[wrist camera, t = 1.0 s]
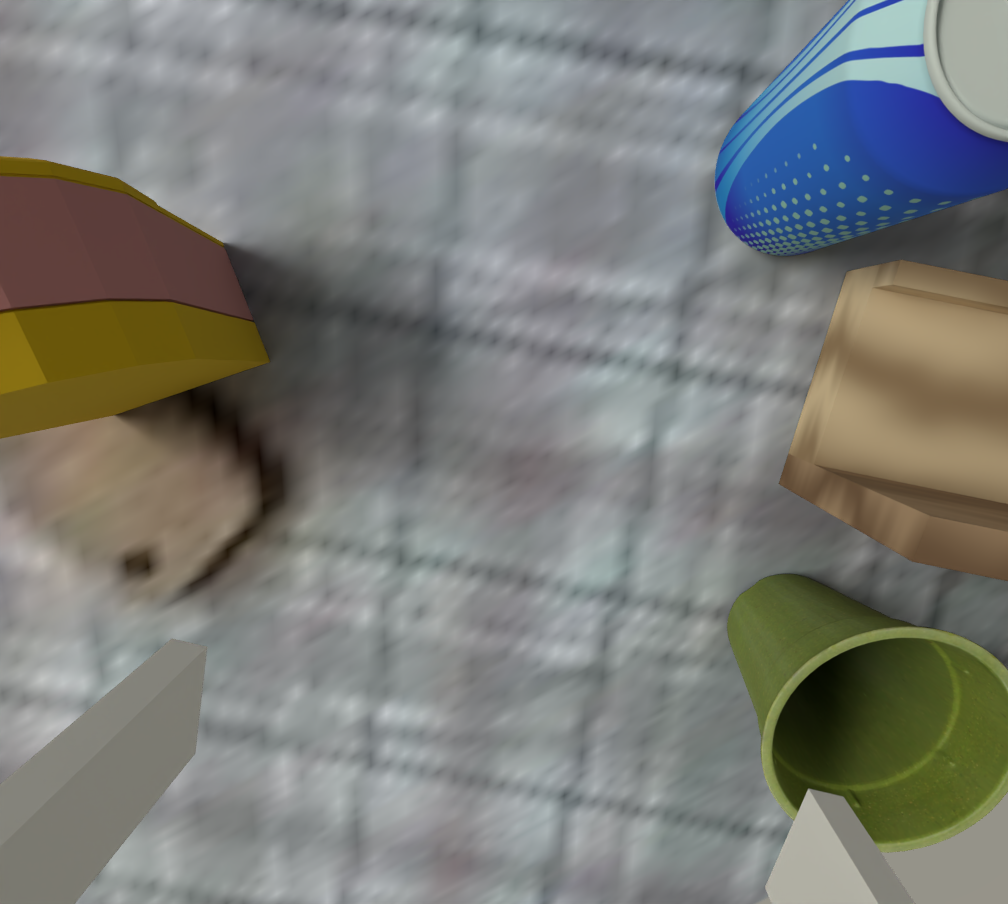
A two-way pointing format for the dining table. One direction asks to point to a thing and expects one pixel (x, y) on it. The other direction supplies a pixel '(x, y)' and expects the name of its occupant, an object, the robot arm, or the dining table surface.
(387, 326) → the dining table surface
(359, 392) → the dining table surface
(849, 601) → the plant pot
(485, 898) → the dining table surface
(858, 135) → the beer can
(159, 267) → the alarm clock
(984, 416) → the cleat board
